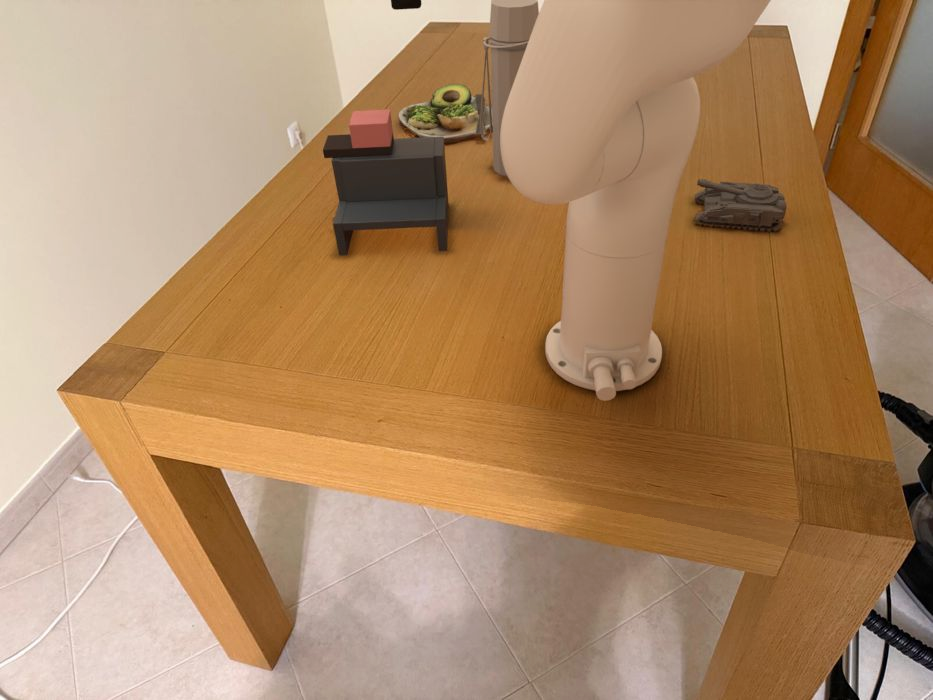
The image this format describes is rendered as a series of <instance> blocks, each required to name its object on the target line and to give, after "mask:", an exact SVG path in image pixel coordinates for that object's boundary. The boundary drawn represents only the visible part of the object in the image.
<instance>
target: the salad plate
mask: <svg viewBox="0 0 933 700" xmlns="http://www.w3.org/2000/svg"><path fill="white" fill-rule="evenodd" d="M431 97H432V98H431V99H430V100H429V101H424V102H420V103H414V104H410V105H407V106H404V107H403V108H402V109H400V111H399V112H398V115H397V117H398V121H399V123H400V125H401V126H402V127H403V128H405V129H407V130H409V132H411V133H412V134H414V135H416V136H418V137H419V138H423V137H444V144H453V143H458V142H463V141H465V140H468V139H472V138H473V139H474V138H477V137H482V136H481V132H480V113H481V100H482V94H481V93H480V94H479V93H476V94H475V95H474V96H472V93H471V90H470V88H469V87H467V86H466V85H464V84H461V83H450V84H446V85H444V86H442V87H439V88H437V89H436V90H435V91H434V92H433V93H432V95H431ZM485 102H486V98H485V97H484V98H483V112H482V129H483V134H484V136H486V135H487V130H490V121H489V105H486V103H485ZM491 115H492V108H491ZM492 127H493V123H492Z"/></svg>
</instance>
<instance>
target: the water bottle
mask: <svg viewBox="0 0 933 700" xmlns="http://www.w3.org/2000/svg"><path fill="white" fill-rule="evenodd" d="M539 12H540V10H539V0H491V1H490V15H489V16H490V17H489V30H488V31H489V32H488V33H489V36H487V37H486V36H485V37H484V38H483V39H482V44H483V49H484V61H483V62H484V63H483V77H482V90H481V95H482V100H481V113H480V132H481V136H480V137H481V139H482V141H486V142H487V141H489V140H490V139H491V137H492V158H493V161H492V162H493V171H494V173H496V174H497V175H498V176H500V177H502V178H506V179H509V178H508V176H507V174H506V171H505V169H504V166H503V162H502V157H501V150H500V131H501V123H502V118H503V114H504V110H505V106H506V103H507V100H508V97H509V94H510V92H511V89H512V86H513V83H514V81H515V78H516V75H517V72H518V69H519V67H520V64H521V61H522V58H523V56H524V53H525V50H526V47H527V45H528V42H529V39H530V36H531V33H532V31H533V28H534V25H535V22H536V20H537V17H538V15H539ZM489 43H490V44H489ZM489 48H490V67H489V51H488V50H489ZM486 76H487V77H486ZM490 76H491V78H490ZM486 78H487V98H488V100H487V101H488V107H489V121H490V128H489V135H488V136H485V135H484V134H483V129H482V112H483V98H485V95H484V94H485V82H486ZM490 79H491V81H490ZM490 83H491V84H490ZM491 109H492V115H491ZM492 123H493V126H492Z"/></svg>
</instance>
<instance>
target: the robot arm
mask: <svg viewBox="0 0 933 700" xmlns="http://www.w3.org/2000/svg"><path fill="white" fill-rule="evenodd" d="M771 1H772V0H543V3H542V5H541V7H540V10H539V15H538V17H537V20H536V22H535V25H534V28H533V31H532V33H531V36H530V39H529V42H528V45H527V47H526V50H525V53H524V56H523V58H522V61H521V64H520V67H519V69H518V72H517V75H516V78H515V81H514V83H513V86H512V89H511V92H510V94H509V97H508V100H507V103H506V106H505V110H504V114H503V118H502V123H501V131H500V150H501V157H502V162H503V166H504V169H505V171H506V174H507V176H508V178H507V179H508V180H509V182H510V184H511V185H512V186H513V188H514V189H515V190H516V191H517V192H518V193H520V195H522V196H523V197H524V198H526V199H527V200H529V201H531V202H533V203H537V204H540V205H546V206H558V205H564V204H568V207H567V212H566V213H567V215H566V225H565V241H564V242H565V243H564V258H563V259H564V260H563V276H562V277H563V278H562V294H561V311H560V312H561V313H560V320H559V321H557V323H555V324H554V325H553V326H552V327H551V328H550V330H549V332H548V333H547V336H546V338H545V343H544V344H545V345H544V346H545V348H544V349H545V352H544V354H545V357H546V361H547V363H548V365H549V366H550V368H551V369H552V370H553V371H554V373H556V374H557V375H558V376H559V377H561V378H562V379H563V380H565V381H566V382H568V383H570V384H572V385H574V386H577V387H580V388H583V389H586V390H591V391H595V396H596V397H597V399H598V400H600V401H602V402H604V401H605V402H608V401H612V400H613V399H614V398H615V397H616V395H617V392H621V391H626V390H630V391H631V390H633V389H635V388H636V387H639V386H642V385H643V384H644V383H646V382H648V381H650V380H651V379H652V377H654V376H655V375H656V373H657V371H658V370H659V368H660V366H661V363H662V359H663V358H662V357H663V346H662V342H661V341H660V338H659V337H658V335H657V334H656V333H655V332H654V330H653V329H652V328H653V320H654V315H655V310H656V304H657V298H658V292H659V286H660V280H661V274H662V269H663V262H664V257H665V251H666V245H667V241H668V236H669V230H670V224H671V219H672V214H673V209H674V204H675V199H676V197H677V192H678V188H679V185H680V181H681V178H682V175H683V173H684V170H685V167H686V165H687V162H688V161H689V157H690V154H691V151H692V149H693V147H694V143H695V140H696V136H697V133H698V130H699V126H700V117H701V99H700V98H701V97H700V92H699V88H698V85H697V82H696V80H695V77H697V76H700V75H702V74H704V73H706V72H709V71H711V70H712V69H714V68H716V67H718V66H719V65H721V64H723V63H724V62H725V61H726V60H728V59H729V58H730V57H731V56H732V55H733V54H735V52H736V51H737V50H738V49H739V47H740V46H741V44H742V43H744V40H745V39H746V38H747V37H748V35H749V34H750V32H751V31H752V29H753V28H754V26H755V24H756V23H757V22H758V20H759V18H760V17H761V15H762V14H763V12H765V10H766V9H767V7H768V5H769V4H770V2H771ZM390 4H391V8H392V10H397V11H398V10H415V9H420V8H421V7H422V0H390Z"/></svg>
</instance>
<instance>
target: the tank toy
mask: <svg viewBox="0 0 933 700" xmlns="http://www.w3.org/2000/svg"><path fill="white" fill-rule="evenodd" d="M696 186H699V187H701V188H704V189H703V190H699V192H696V193H695V194H694V201H695V203H697V204H698V205H699V204H702V205H703V207H704V211H702V210H701V211H700V213H697V214H696V215H695V216H694V221H695V224H698V225H699V226H702V225H703V226H704V227H707V226H708V227H712V226H713V227H714V228H718V227H720V228H724V227H725V228H726V229H730V227H731V229H735V228H736V229H737V230H741V228H742V230H747V229H748V231H753V230H754V231H758V230H759V231H760V232H765V230H766V232H772V231H773V232H776V231H778V230H779V229H780V228H781V227H782V226H783V219H784V218H785V216H786V214H787V207H788V206H787V203H786V201H785V199H786V198H785V195H784V194H783V193H781V192H780V190H779V188H778V187H776V186H773V185H771V184H764V183H747V182H733V181H720V182H718V183H717V182H712V181H711V180H707V179H704V178H702V179H701V178H699V179H698V180H697V183H696Z"/></svg>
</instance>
